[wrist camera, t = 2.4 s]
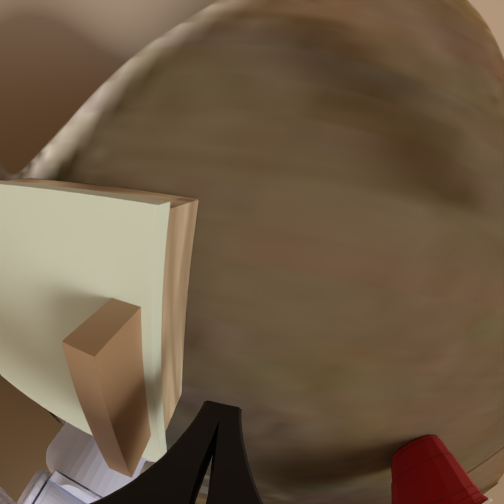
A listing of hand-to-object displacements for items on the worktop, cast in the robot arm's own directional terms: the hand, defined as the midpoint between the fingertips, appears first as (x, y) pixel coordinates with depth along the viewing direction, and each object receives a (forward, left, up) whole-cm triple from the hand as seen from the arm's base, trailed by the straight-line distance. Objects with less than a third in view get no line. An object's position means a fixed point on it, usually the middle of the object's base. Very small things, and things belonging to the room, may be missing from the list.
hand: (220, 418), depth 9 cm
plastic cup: (+13, -21, -7) cm, 26 cm away
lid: (-9, +5, -2) cm, 11 cm away
